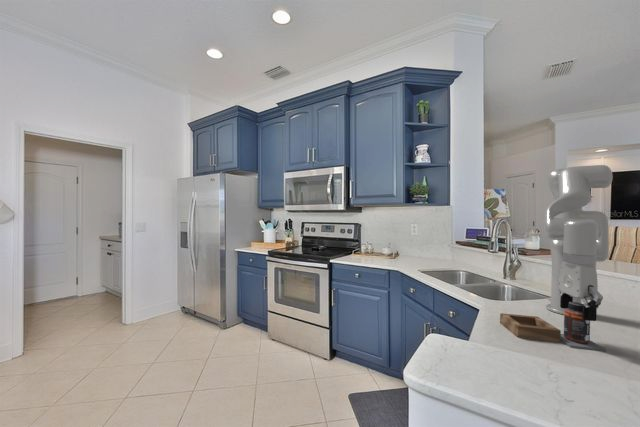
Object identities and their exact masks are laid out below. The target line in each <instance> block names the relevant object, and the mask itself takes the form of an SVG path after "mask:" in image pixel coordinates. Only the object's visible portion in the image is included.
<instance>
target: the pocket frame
mask: <svg viewBox="0 0 640 427" xmlns="http://www.w3.org/2000/svg"><path fill="white" fill-rule="evenodd" d="M499 315H500V317H499V323H500V324H501V325H502V326H503V327H504V328H506V329H507V330H508V331H509V332H510V333H511V334H513V335H514V336H516V338H522V339H532V340H540V341H541V340H542V341H547V342H548V341H550V342H559V343H560V342H561V341H560V339H561V334H562V330H561V329H559V328H557V327H555V326H554V325H552V324H550V323H549V322H548V321H545V320H544V319H542V318H540V317H539V316H535V315H534V316H533V315H524V314H512V313H511V314H510V313H503V312H502V313H501V312H500V314H499Z"/></svg>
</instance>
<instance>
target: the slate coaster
mask: <svg viewBox="0 0 640 427" xmlns="http://www.w3.org/2000/svg"><path fill="white" fill-rule="evenodd" d="M560 342H562V344H564V345H566V346H567V347H569V348H575V349H585V350H591V351H600V352H601V351H602V352H606V351H607V349H606V348H604V347H603V346H602V345H599V344H598V343H596V342H594V341H593V340H589V343H587V344H584V343H577V342H573V341H571V340H568V339H567V338H565V337H564V333H561V339H560Z"/></svg>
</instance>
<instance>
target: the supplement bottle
mask: <svg viewBox="0 0 640 427" xmlns="http://www.w3.org/2000/svg"><path fill="white" fill-rule="evenodd" d="M568 306H569V307H568V308H566V309H565V311H564V315H563V334H564V337H565V338H567V339H568V340H571V341H573V342H577V343H584V344H587V343H589V340H590V338H591V336H590V335H591V321H588V320H583V319H582V315H583V306H585V305H584V303H582V304H581V303H576V302H569V305H568Z"/></svg>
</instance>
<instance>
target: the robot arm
mask: <svg viewBox="0 0 640 427" xmlns="http://www.w3.org/2000/svg"><path fill="white" fill-rule="evenodd" d="M613 178H614V176H613V172H612V169H611V168H610V167H609V166H608V165H605V164H595V165H594V164H591V165H580V166H579V165H578V166H576V165H575V166H569V167H564V168H557V169H554V170H552V171H550V172H549V174H548V176H547V181H548V186H549V190H550V192H551V194H552V196H553V198H554V200H553V201H552V202H551V203H550V204H549V205H548V206H547V207H546V209H545V211H544V214H543V234H544V236H545V237H546V238H547V239H549V240H550V242H549V250H550V258H551V286H550V287H551V288H550V289H551V290H550V291H551V292H550V297H548V299H547V300H548V301H550V304H549V303H548V304H546V305H545V308H546V309H547V310H549V311H550V312H553V313H556V314H560V315H563V316H564V311H565V309H566V308H568V307H569V306H568V305H569V302H576V303H581V304H584V305H585V306H583V315H582V319H583V320H588V321H590V322H591V321H592V322H597V313H598V312H597V311H598V309H599V306H600V305H601V304H602V302H603V299H604V296H603V295H602V294H601V293H600V292H599V290H598V289H599V288H598V287H599V284H598V283H599V282H598V274H597V273H598V272H597V268H596V267H597V262H598V263H599V262H600V263H601V262H605V261H606V260H607V259H608V258H609V252H610V251H609V249H610V248H609V247H610V246H609V244H610V242H609V238H610V237H609V220H608V217H607V215H606V214H605V213H604V212H602V211H599V210H598V211H597V210H583V207H585V206H587V205H588V204H589V203H591V200H592V193H591V189H606V188H609V187H610V186H611V184H612V182H613Z"/></svg>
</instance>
